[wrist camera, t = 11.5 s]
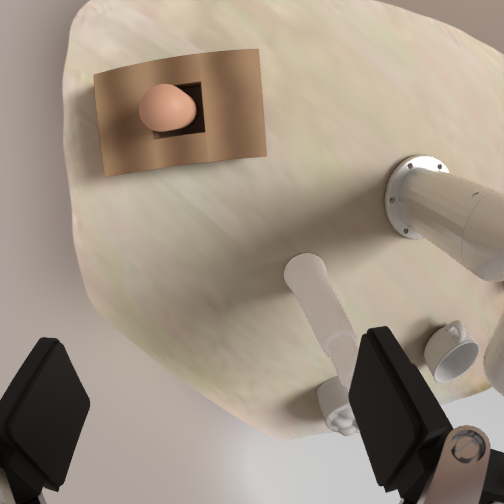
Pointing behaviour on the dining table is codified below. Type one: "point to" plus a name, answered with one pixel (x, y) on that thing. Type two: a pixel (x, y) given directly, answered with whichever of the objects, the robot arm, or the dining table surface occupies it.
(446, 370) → the teacup
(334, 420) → the lumpy-topped squat cylinder
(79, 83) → the dining table surface
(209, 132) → the socket board
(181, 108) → the peg
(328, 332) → the cosmetic bottle
